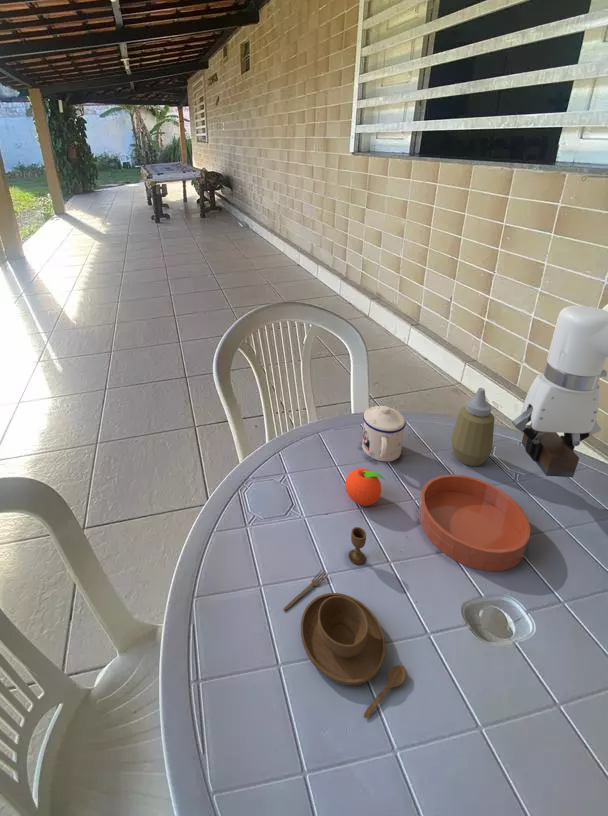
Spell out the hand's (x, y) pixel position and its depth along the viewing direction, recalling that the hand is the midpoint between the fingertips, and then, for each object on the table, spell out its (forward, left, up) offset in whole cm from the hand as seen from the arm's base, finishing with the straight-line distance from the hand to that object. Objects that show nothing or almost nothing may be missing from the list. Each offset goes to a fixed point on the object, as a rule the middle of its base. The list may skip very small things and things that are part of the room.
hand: (546, 456), depth 81 cm
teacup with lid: (+28, -10, -10) cm, 31 cm away
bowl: (+16, +9, -10) cm, 21 cm away
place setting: (+39, +28, -10) cm, 49 cm away
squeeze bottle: (+9, -10, -10) cm, 17 cm away
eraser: (0, 0, -1) cm, 1 cm away
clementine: (+34, +4, -10) cm, 35 cm away
